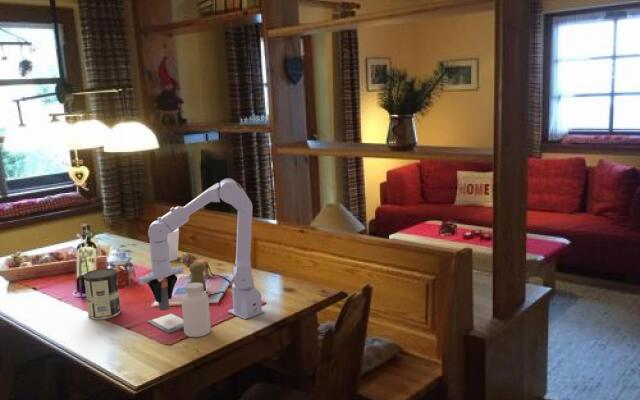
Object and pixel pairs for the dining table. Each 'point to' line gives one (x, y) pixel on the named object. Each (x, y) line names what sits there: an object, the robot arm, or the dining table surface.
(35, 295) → the dining table surface
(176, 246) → the foam cup
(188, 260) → the lion figurine
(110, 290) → the coffee can
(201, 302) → the pill bottle
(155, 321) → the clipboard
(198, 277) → the brown upright piece
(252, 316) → the robot arm
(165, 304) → the marker
